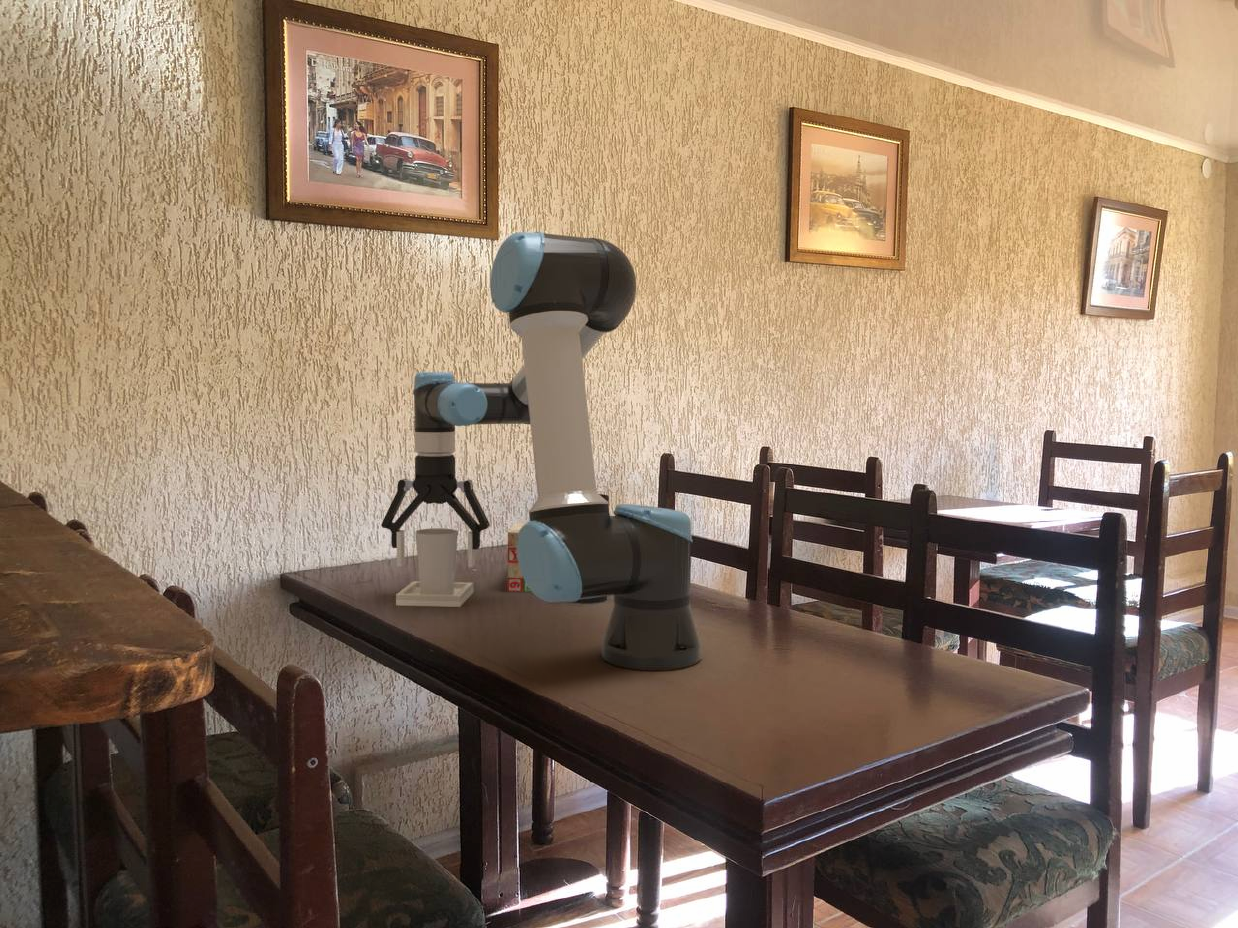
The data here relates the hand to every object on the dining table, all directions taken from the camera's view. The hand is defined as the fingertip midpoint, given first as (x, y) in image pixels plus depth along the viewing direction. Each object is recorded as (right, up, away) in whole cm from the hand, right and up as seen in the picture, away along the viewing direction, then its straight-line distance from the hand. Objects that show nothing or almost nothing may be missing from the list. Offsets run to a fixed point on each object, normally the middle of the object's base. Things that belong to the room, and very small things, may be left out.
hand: (436, 565), depth 187 cm
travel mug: (+29, -7, +2) cm, 30 cm away
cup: (0, -6, +1) cm, 6 cm away
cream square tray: (0, -6, +1) cm, 6 cm away
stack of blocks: (+16, -5, +18) cm, 25 cm away
